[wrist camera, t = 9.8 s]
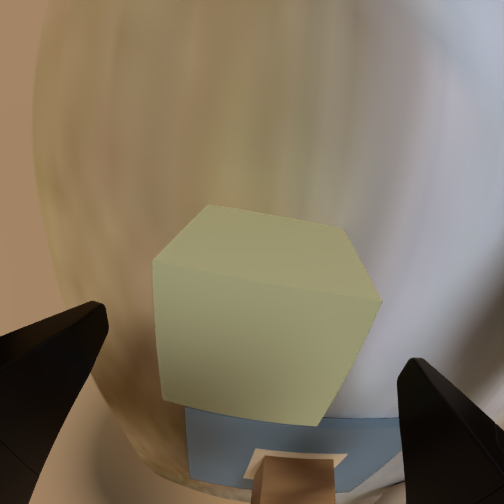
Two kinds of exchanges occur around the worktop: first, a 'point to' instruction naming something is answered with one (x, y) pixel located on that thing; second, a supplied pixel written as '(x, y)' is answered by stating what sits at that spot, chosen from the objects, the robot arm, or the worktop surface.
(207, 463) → the board
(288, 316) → the sage cube
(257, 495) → the walnut cube
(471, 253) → the worktop surface
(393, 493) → the donut
